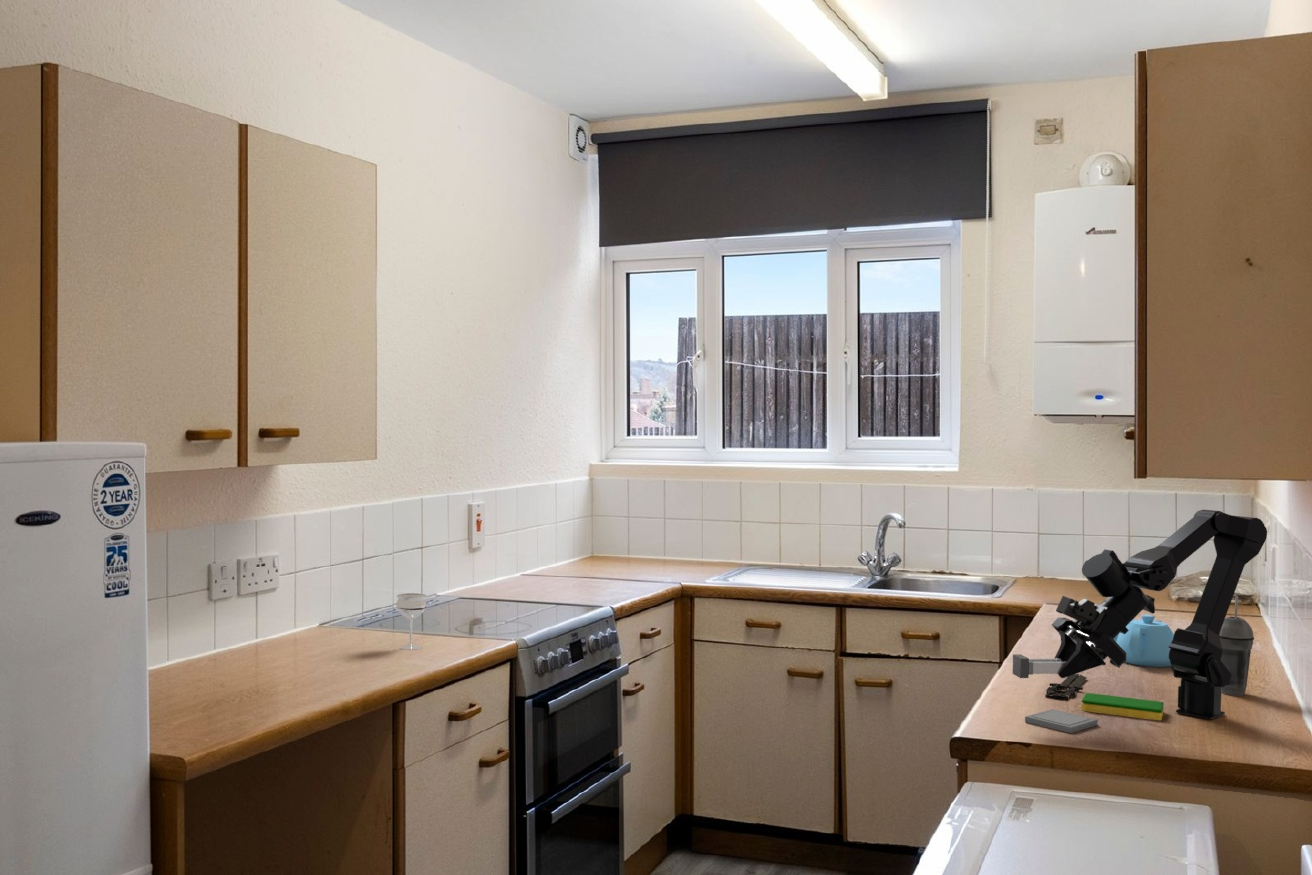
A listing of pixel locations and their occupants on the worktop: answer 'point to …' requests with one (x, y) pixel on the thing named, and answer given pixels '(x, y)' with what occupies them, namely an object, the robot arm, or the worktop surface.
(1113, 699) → the dish sponge
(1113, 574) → the robot arm
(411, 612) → the wineglass
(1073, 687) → the dark piece
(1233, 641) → the beverage cup
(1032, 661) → the grey stepped bar
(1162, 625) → the teapot
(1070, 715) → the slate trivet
